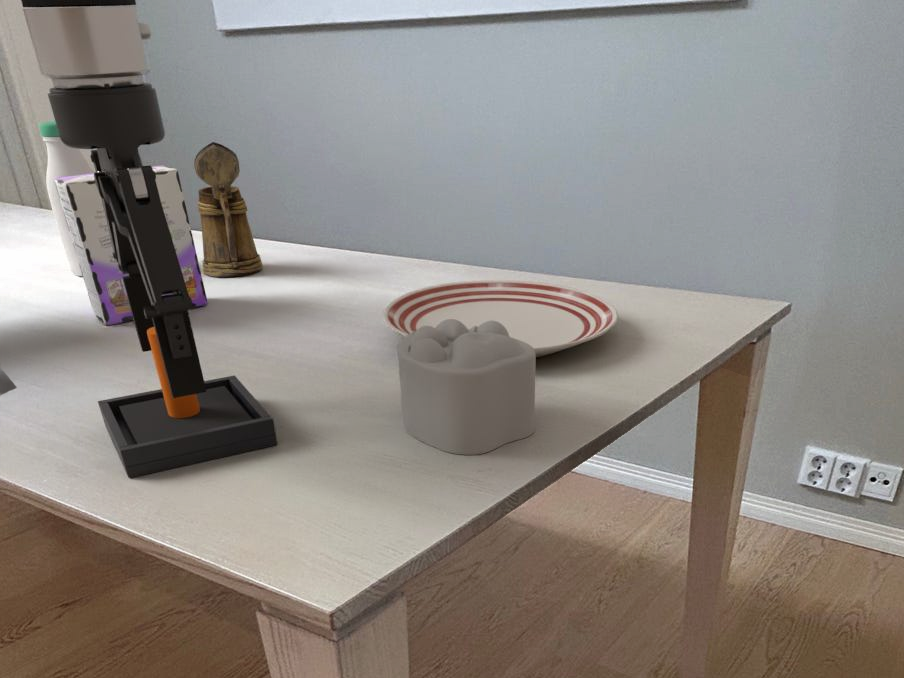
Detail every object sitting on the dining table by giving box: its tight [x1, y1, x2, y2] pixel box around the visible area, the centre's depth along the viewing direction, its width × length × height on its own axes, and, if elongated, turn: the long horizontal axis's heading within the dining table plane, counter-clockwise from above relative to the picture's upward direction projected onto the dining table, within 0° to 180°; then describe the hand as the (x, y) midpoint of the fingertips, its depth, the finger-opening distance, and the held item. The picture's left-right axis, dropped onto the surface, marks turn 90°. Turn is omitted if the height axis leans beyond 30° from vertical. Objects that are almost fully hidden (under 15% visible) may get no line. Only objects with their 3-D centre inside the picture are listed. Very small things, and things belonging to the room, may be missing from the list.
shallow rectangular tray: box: [97, 375, 279, 479], centre depth 76 cm, size 13×13×2 cm
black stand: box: [119, 327, 253, 444], centre depth 74 cm, size 10×10×9 cm
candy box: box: [54, 164, 209, 326], centre depth 105 cm, size 14×6×16 cm, turn 126°
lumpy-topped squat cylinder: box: [397, 319, 537, 456], centre depth 75 cm, size 10×13×9 cm
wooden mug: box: [194, 141, 264, 278], centre depth 120 cm, size 9×14×18 cm, turn 19°
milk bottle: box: [38, 120, 95, 277], centre depth 123 cm, size 8×8×20 cm
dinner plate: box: [382, 279, 619, 358], centre depth 97 cm, size 28×27×3 cm
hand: (172, 370), depth 73 cm, fingers open, 13 cm apart
